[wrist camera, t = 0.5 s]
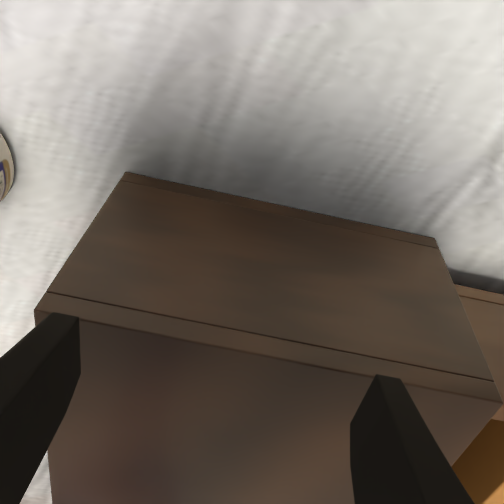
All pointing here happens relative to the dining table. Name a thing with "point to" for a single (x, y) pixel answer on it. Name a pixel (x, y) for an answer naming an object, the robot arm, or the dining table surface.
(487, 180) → the dining table surface
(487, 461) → the packet
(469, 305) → the drawer
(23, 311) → the dining table surface
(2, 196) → the pill bottle
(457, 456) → the cabinet
